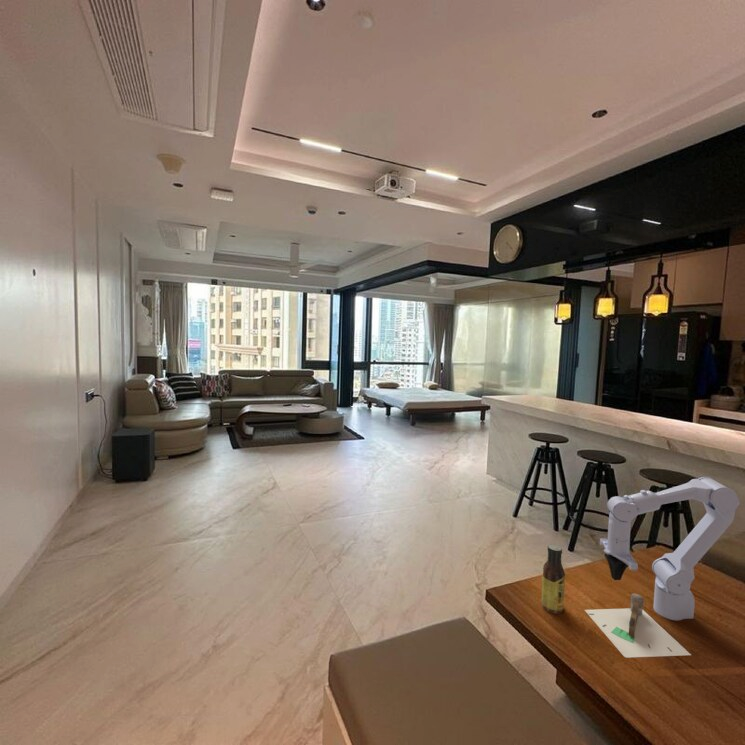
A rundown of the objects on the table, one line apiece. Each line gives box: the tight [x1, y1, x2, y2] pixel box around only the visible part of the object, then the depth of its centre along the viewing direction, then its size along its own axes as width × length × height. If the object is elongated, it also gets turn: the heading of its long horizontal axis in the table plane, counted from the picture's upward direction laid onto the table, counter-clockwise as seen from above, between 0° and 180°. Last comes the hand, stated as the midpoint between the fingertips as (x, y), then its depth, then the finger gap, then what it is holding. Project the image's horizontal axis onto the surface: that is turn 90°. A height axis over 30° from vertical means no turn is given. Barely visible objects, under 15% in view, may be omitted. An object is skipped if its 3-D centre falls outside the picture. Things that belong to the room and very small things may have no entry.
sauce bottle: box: [541, 544, 566, 614], centre depth 120 cm, size 7×6×20 cm
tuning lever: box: [629, 593, 644, 637], centre depth 113 cm, size 16×3×5 cm, turn 141°
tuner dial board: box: [584, 607, 692, 659], centre depth 111 cm, size 18×18×1 cm
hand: (616, 578), depth 121 cm, fingers closed
